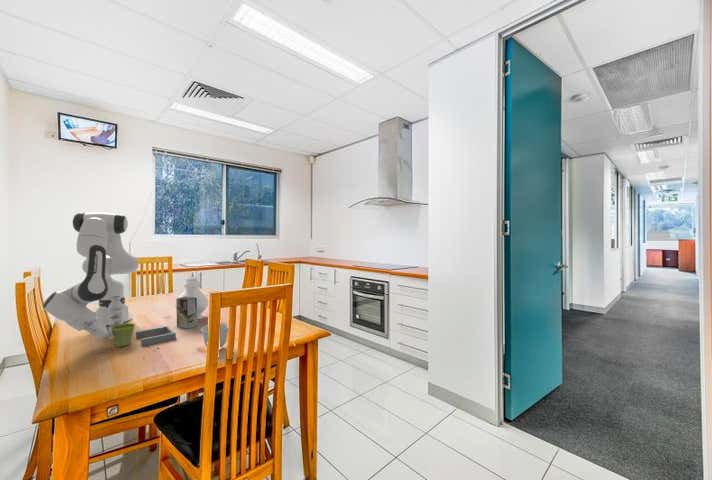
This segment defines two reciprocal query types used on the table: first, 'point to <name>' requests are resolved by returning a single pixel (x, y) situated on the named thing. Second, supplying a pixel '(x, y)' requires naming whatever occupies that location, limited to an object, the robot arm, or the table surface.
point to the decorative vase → (195, 294)
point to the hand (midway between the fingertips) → (112, 337)
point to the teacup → (222, 334)
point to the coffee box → (186, 312)
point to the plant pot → (122, 334)
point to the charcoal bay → (156, 339)
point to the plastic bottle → (115, 312)
